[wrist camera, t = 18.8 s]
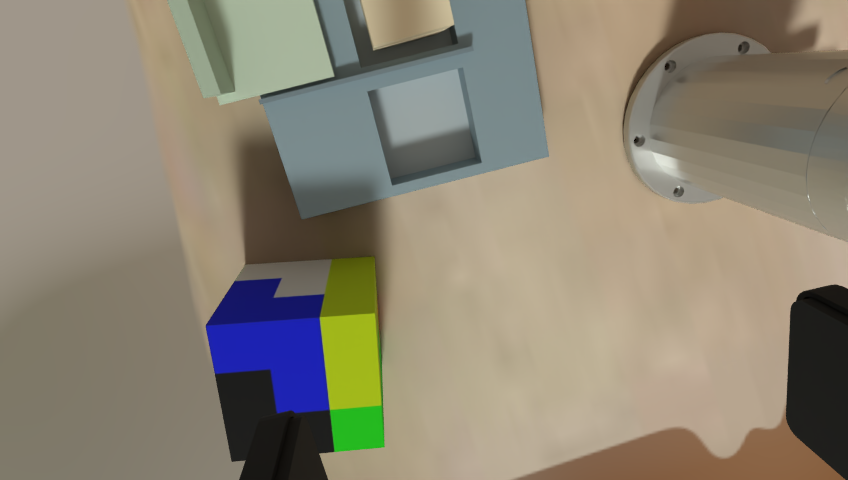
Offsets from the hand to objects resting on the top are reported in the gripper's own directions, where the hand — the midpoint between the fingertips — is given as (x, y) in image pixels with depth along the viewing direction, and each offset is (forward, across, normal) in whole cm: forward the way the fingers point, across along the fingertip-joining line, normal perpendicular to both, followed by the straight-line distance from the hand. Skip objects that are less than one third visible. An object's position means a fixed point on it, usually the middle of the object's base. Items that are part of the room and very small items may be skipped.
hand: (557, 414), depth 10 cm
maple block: (+29, 0, -10) cm, 31 cm away
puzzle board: (+30, 0, -6) cm, 31 cm away
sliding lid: (+27, +8, -10) cm, 30 cm away
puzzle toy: (+30, +11, +11) cm, 34 cm away
